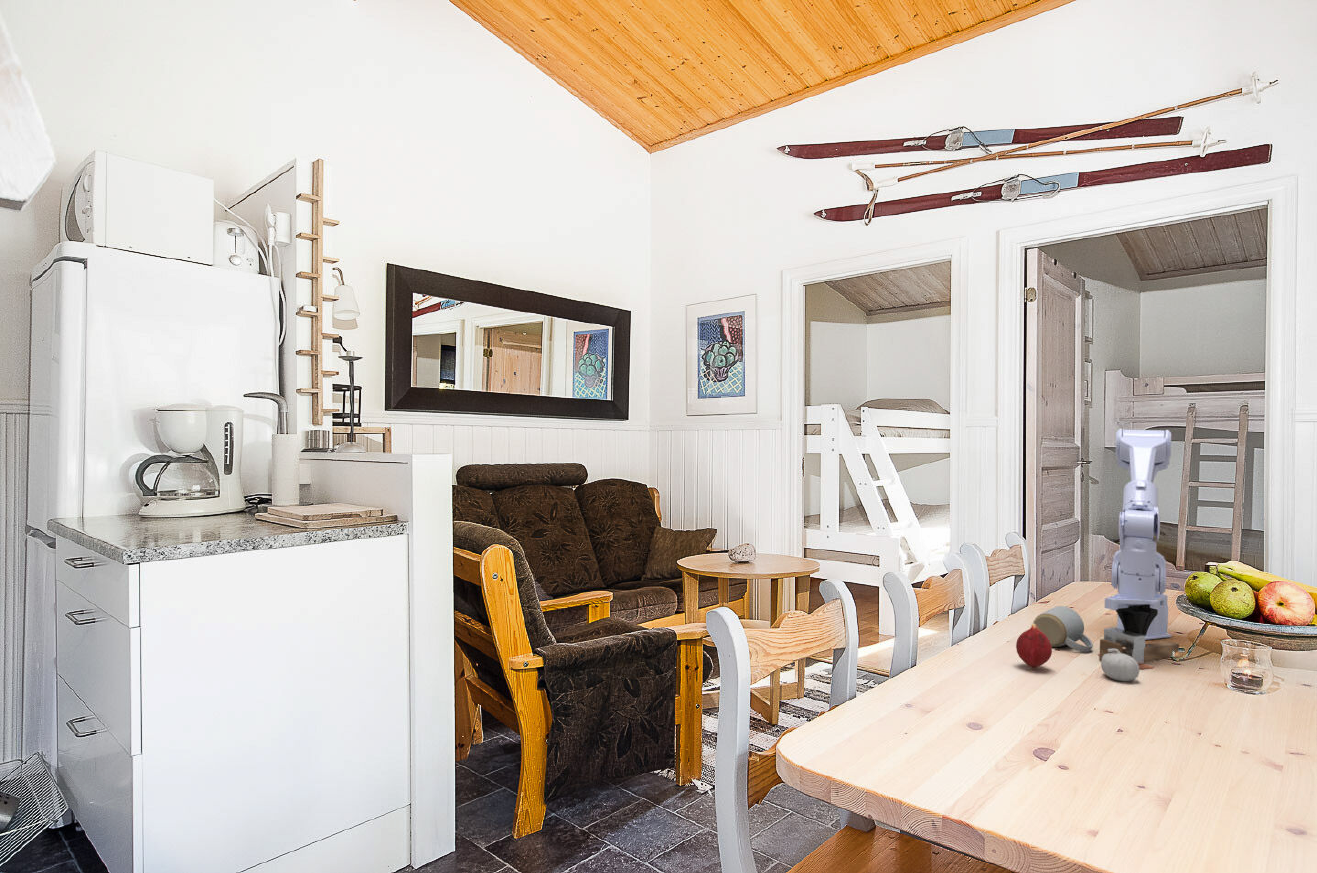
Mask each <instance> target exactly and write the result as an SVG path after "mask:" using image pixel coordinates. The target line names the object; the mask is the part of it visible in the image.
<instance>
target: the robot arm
mask: <svg viewBox="0 0 1317 873" xmlns="http://www.w3.org/2000/svg"><path fill="white" fill-rule="evenodd" d="M1171 452H1172V432H1171V431H1170V430H1169V429H1165V430H1157V429H1156V430H1155V429H1147V430H1146V429H1123V428H1119V429H1118V430H1116V434H1115V456H1116V463H1117V466H1118V467H1119V468H1121V469H1123V470H1126V471H1127V473H1128V475H1129V476H1128V477H1129V479H1130V481H1129V482H1128V483H1126V484H1125V485H1124V487H1123V495H1122V496H1123V498H1122V511H1119V515H1118V535H1119V536H1118V537H1119V548H1120V549H1118V550H1117V551H1115V552H1114V554H1113V557H1112V565H1111V586H1112V587H1113V589H1115V590H1117V594H1115V595H1112V596H1111V595H1110V596H1109V597H1107V596H1106V597H1104V608H1105V609H1109V610H1112V611H1115V612H1116V614H1117V619H1116V622H1117V623H1116V628H1120V629H1123V630H1127V631H1131V632H1134V633H1138V634H1142V635H1145V641H1146V640H1154V639H1165V638H1172V634H1170V633H1168V629H1169V628H1168V627H1169V626H1168V625H1169V605H1168V595H1167V594H1165V593H1166V590H1167V589H1166V587H1167V586H1166V585H1167V567H1166V566H1167V565H1166V564H1167V563H1166V562H1167V560H1166V559H1165V557H1164V556H1163V554H1161V553H1160V552H1158V551H1157V543H1158V542H1159V539H1160V534H1161V516H1160V511H1159V505H1158V504H1159V489H1158V487H1157V486H1156V484H1154V480H1155V478H1156V477H1157V474H1158V472H1160V471H1164V470H1167V469H1168V467H1169V465H1170V458H1171V455H1172V453H1171ZM1154 535H1155V536H1156V540H1155V539H1154Z"/></svg>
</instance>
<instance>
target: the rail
mask: <svg viewBox="0 0 1317 873" xmlns="http://www.w3.org/2000/svg"><path fill="white" fill-rule="evenodd" d="M1108 649H1118V650H1119V651H1120V653H1122V654H1125V648H1123V647H1122V644H1119V643H1115V642H1112V641H1108V640H1105V639H1104V638H1102V639H1099V653H1097V656H1099V659H1098V660H1099V661H1100V662H1101V661H1102V657H1103V655H1105V654H1108V653H1117V652H1108ZM1173 651H1174V652H1175V653H1176V652H1178V651H1179V652H1180V643H1178V642H1173V641H1169V640H1167V641H1159V642H1149V643H1145V649H1144V661H1143V663H1141V664H1138V665H1139V670H1148V669H1154V668H1155V667H1154V666H1153V665H1149V664H1146V663H1144V662H1149V661H1157V660H1162V659H1164V660H1165V659H1171V658H1170V657H1171V655H1172V652H1173Z"/></svg>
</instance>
